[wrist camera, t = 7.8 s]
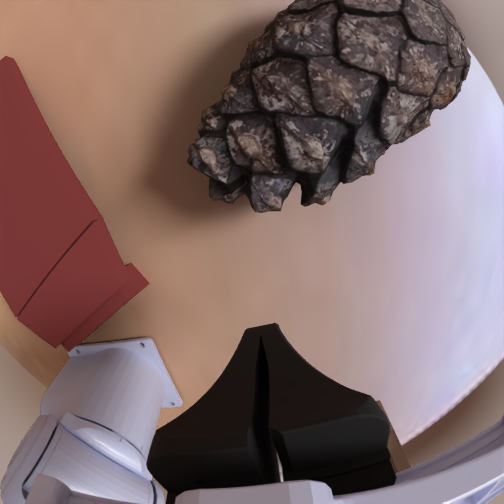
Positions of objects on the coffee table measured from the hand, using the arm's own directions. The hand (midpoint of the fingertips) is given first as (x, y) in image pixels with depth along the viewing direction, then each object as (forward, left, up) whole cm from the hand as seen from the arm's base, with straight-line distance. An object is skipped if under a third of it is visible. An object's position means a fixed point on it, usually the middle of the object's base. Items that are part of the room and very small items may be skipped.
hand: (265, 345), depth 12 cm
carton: (-17, +10, -10) cm, 22 cm away
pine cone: (+6, +10, -10) cm, 16 cm away
